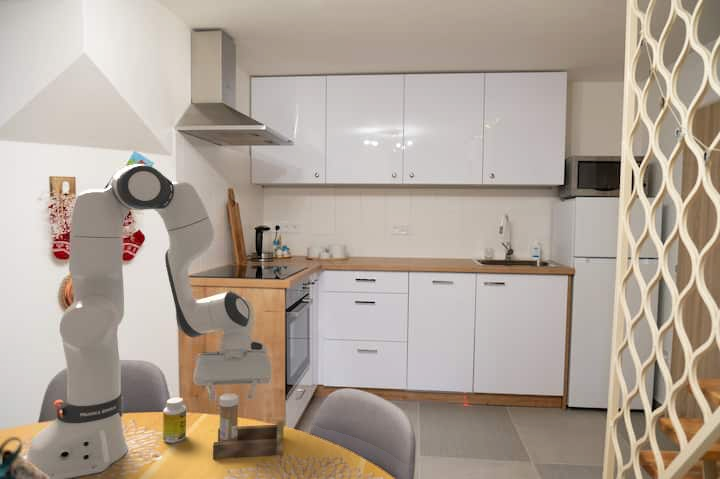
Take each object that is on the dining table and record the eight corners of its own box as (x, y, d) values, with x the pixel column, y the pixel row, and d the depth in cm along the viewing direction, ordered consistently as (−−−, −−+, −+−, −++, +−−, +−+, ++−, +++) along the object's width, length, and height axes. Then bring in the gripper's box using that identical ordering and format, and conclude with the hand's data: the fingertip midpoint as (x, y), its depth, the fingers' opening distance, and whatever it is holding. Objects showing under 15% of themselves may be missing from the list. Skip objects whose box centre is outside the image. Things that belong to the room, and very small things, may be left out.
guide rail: (213, 459, 110) (213, 440, 109) (218, 440, 119) (219, 423, 119) (283, 455, 112) (283, 437, 112) (283, 437, 122) (283, 420, 121)
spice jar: (240, 450, 114) (241, 397, 114) (222, 455, 112) (222, 400, 111) (234, 442, 118) (235, 391, 117) (216, 447, 115) (217, 394, 115)
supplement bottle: (182, 443, 117) (182, 404, 117) (159, 444, 116) (160, 404, 116) (188, 433, 122) (188, 396, 122) (167, 434, 122) (167, 396, 122)
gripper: (195, 346, 124) (187, 395, 114) (272, 344, 127) (270, 392, 118) (198, 357, 128) (191, 406, 119) (272, 355, 132) (271, 402, 122)
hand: (231, 399), depth 118 cm, fingers open, 8 cm apart
